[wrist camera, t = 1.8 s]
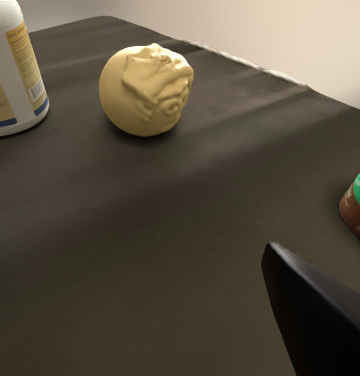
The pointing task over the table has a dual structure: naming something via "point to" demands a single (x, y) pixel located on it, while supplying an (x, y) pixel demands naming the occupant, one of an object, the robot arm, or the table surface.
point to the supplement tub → (18, 74)
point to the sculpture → (145, 89)
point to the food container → (352, 207)
